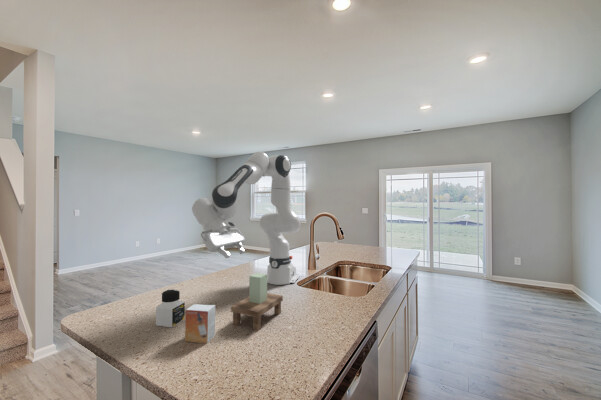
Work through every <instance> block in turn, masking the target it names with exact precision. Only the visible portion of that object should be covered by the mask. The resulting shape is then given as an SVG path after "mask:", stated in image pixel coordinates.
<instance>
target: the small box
mask: <svg viewBox="0 0 601 400" xmlns="http://www.w3.org/2000/svg"><path fill="white" fill-rule="evenodd" d="M184 321H185V323H184V324H185V325H184V327H185V328H184V329H185V331H184V342H189V343H190V342H191V343H201V344H208V343H209V342H210V341H211V340H212V339H213V338H214V337H215V336H216V304H197V303H193V304H192V305H191V306H189V307H188V308H186V309H185V319H184Z"/></svg>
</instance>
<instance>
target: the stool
mask: <svg viewBox="0 0 601 400" xmlns="http://www.w3.org/2000/svg"><path fill="white" fill-rule="evenodd" d="M283 298H284V297H283V295H281V294H275V293H270V292H267V300H266V301H264V302H262V303H261V304H258V303H253V302H249V296H247V297H245V298H244V299H241V300H240V301H238V302H237V303H235V304H232V305H231V306H230V312H231V313H232V325H233V326H237V327H238V326H239V325H241V322H242V321H241V320H242V319H241V318H242V315H244V316H250V317H252V319H253V320H252V330H253V331H257V332H258V331H260V330H261V329H262V316H263V315H264V314H266V313H267V312H269V311H270V310H271V309H273V308H274V309H273V311H274V312H273V313H274V315H278V316H279V315H280V314H282V313H281V312H282V302H283V301H284V299H283Z"/></svg>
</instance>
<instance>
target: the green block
mask: <svg viewBox="0 0 601 400" xmlns="http://www.w3.org/2000/svg"><path fill="white" fill-rule="evenodd" d="M248 278H249V280H248V281H249V294H248V295H249V296H248V297H249V302H253V303H258V304H261V303H262V302H264V301H266V300H267V293H268V282H267V273H260V272H256V273H253V274H251V275H249V277H248Z"/></svg>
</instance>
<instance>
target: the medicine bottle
mask: <svg viewBox="0 0 601 400" xmlns="http://www.w3.org/2000/svg"><path fill="white" fill-rule="evenodd" d="M180 292H181V291H180V290H179V289H176V288H172V289H171V288H170V289H166V290H164V291H162V292H161V303H160V304H159V305H157V306H156V307H155V326H157V327H165V328H174V327H176V326H177V325H179V324H180V323H181V322H182V321H185V319H186V309H185V308H186V306H185V305H186V304H185V301H184V300H180V297H181V296H180V294H181V293H180Z"/></svg>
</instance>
